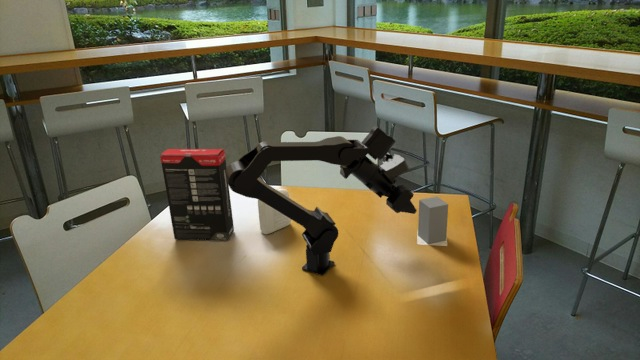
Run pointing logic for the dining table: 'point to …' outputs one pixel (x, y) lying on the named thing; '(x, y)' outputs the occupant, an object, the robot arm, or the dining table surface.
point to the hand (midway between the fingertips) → (407, 205)
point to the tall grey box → (432, 220)
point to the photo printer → (272, 216)
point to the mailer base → (422, 242)
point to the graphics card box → (198, 194)
